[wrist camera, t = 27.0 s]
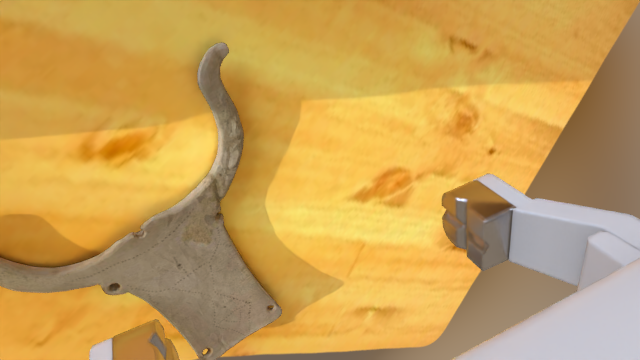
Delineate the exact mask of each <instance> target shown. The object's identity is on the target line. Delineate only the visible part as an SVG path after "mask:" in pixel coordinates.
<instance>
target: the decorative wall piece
mask: <svg viewBox="0 0 640 360" xmlns="http://www.w3.org/2000/svg"><path fill="white" fill-rule="evenodd" d="M228 53H229V49H228V47H227V44H225V43H222V42H221V43H217V44H215V45H213V46H212V47H210V48H209V49H208V51H207V52H206V53H205V55H204V57H203V59H202V61H201V63H200V65H199V69H198V73H197V75H198V85H199V88H200V90H201V91H202V93H203V95H204V97H205V99H206V101H207V102H208V104H209V106H210V108H211V110H212V113H213V115H214V118H215V122H216V125H217V128H218V152H217V156H216V159H215V161H214V163H213V166H212V168H211V170H210V172H209V173H208V174H207V176H206V177H205V178H204V179H203V180H202V181H201V182H200V183H199V184H198V186H197V187H196V188H195V189H194V190H193V191H192V192H191V193H189V194H188V195H187V196H186V197H185V198H184V199H183V200H181V201H180V202H178V203H177V204H176V205H174V206H173V207H171V208H169V209H168V210H165V211H163V212H161V213H159V214H157V215H154V216H153V217H151V218H150V219H148V220H147V221H145V222H144V223H143V224H142V225H141V228H140V229H142V230H141V231H139V232H136V233H134V232H131V233H129V234H128V235H126V236H125V237H124V238H122V239H120V240H118V241H117V242H115V243H114V244H113V245H112V246H111V247H110V248H108V249H107V250H105V251H104V252H103V253H101V254H99V255H97V256H95V257H93V258H90V259H88V260H85V261H82V262H80V263H76V264H72V265H68V266H63V267H55V268H48V267H34V266H28V265H23V264H19V263H16V262H12V261H9V260H6V259H3V258H1V257H0V286H2V287H4V288H7V289H10V290H13V291H21V292H36V293H50V292H60V291H68V290H74V289H79V288H84V287H90V286H94V285H97V284H99V285H101V287H102V289H103V291H104V292H105V293H106V294H109V295H119V294H124V293H127V292H129V293H131V294H133V295H135V296H137V297H139V298H141V299H143V300H144V301H146V302H147V303H149V304H150V305H151V306H152V307H154V308H155V309H156V310H158V311H159V312H160V313H161V314H162V315H163V316H164V317H165V318H166V319H167V320H168V321H169V322H170V323H171V324H172V325H173V326H174V327H175V328H176V329H177V330H178V331H179V332H180V333H181V334H182V335H183V337H184V338H185V339H186V340H187V342H188V343H189V344H190V346H191V347H192V348H193V350H194V351H195V352H196V354H197V356H198V357H199V359H200V360H216V359H217V358H219V357H220V356H221V355H222V354H224V353H225V352H226V351H227V350H229V349H230V348H231V347H233V346H234V345H236V344H237V343H239V342H240V341H241V340H243V339H244V338H246V337H247V336H249V335H250V334H252V333H254V332H256V331H257V330H259V329H261V328H263V327H264V326H266V325H268V324H270V323H272V322H273V321H274V320H276V319H277V318H279V317H280V316H281V314H282V309H281V307H280V306H279V305H278V304H277V303H276V302H275V301H274V300H273V299H272V298H271V296H270V295H269V294H268V293H267V292H266V291H265V290H264V289H263V288H262V286H261V285H260V284H259V283H258V281H257V280H256V279H255V277H254V276H253V274H252V273H251V272H250V270H249V269H248V268H247V266H246V264H245V263H244V261H243V259H242V258H241V256H240V254H239V253H238V251H237V249H236V248H235V246H234V244H233V242H232V241H231V239H230V237H229V235H228V233H227V231H226V229H225V227H224V221H223V215H222V214H217V213H218V212H220V210H221V207H220V201H221V199H222V198H223V197H224V196H225V194H226V192H227V191H228V189H229V187H230V185H231V183H232V181H233V178H234V176H235V173H236V171H237V168H238V165H239V162H240V159H241V154H242V149H243V138H244V133H243V128H242V125H241V122H240V118H239V115H238V112H237V109H236V107H235V105H234V103H233V102H232V100H231V98H230V96H229V95H228V93H227V91H226V89H225V87H224V85H223V83H222V81H221V78H220V66H221V63H222V61H223V59H224V58H225V57H226V55H227V54H228ZM113 283H114V284H113ZM269 305H273V306H274V307H273V308H269V307H268V306H269ZM206 348H207V349H208V351H207V353H206V354H205V355H203V353H202V352H203V350H204V349H206Z"/></svg>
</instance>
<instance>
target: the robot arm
mask: <svg viewBox="0 0 640 360" xmlns="http://www.w3.org/2000/svg"><path fill="white" fill-rule="evenodd" d="M442 206H443V207H444V208H446V209H447V210H446V211H445V213H444V215H443V217H442V220H443V228H444V230H445V233H446V235H447V237H448V238H449V239H450V241H451V242H452V243H453V244H454V245H455V246H456V247H459V248H463V249H466V251H467V257H468V258H469V259H470V260H471V261H472V262H473V263H475V264H476V265H477V266H478V267H479V268H480V269H481V270H482V271H485V270H487V269H489V268H491V267H493V266H495V265H497V264H500V263H502V262H504V261H506V260H508V259H509V261H510V262H513V263H516V264H518V265H521V266H524V267H527V268H529V269H532V270H535V271H537V272H540V273H543V274H546V275H548V276H551V277H554V278H556V279H559V280H562V281H565V282H567V283H570V284H573V285H575V286H577V291H576V292H575V293H573V294H571V295H570V296H568V297H566V298H564V299H562V300H560V301H559V302H557V303H555V304H553V305H551V306H549V307H547V308H546V309H544V310H542V311H540V312H538V313H536V314H535V315H533V316H531V317H529V318H527V319H525V320H523V321H521V322H520V323H518V324H516V325H514V326H512V327H510V328H508V329H507V330H505V331H503V332H501V333H500V334H498V335H496V336H494V337H492V338H490V339H488V340H486V341H485V342H483V343H481V344H479V345H477V346H475V347H474V348H472V349H470V350H468V351H466V352H464V353H462V354H460V355H459V356H457V357H455V358H453V359H451V360H640V219H638V218H636V217H634V216H632V215H630V214H624V213H619V212H614V211H608V210H602V209H596V208H591V207H585V206H579V205H574V204H568V203H562V202H556V201H551V200H544V199H539V198H536V199H534V200H532V199H530V198H529V197H527V196H526V195H524V194H523V193H521V192H520V191H518V190H516V189H515V188H513V187H512V186H510V185H509V184H507V183H506V182H504V181H502V180H501V179H499V178H498V177H496V176H495V175H493V174H486V175H484V176H481V177H479V178H477V179H475V180H473V181H471V182H468V183H466V184H464V185H462V186H459V187H457V188H455V189H453V190H451V191H448V192H446V193H444V194H443V196H442ZM89 360H180V359H179V356H178V353H177V351H176V349H175V346H174V345H173V343H172V341H171V340H170V339H166V338H165V334H164V328H163V327H162V325H161V324H160V322H159V321H158V320H156V319H155V320H153V321H150V322H148V323H145V324H143V325H140V326H138V327H136V328H133V329H131V330H128V331H126V332H123V333H121V334H119V335H116V336H114V337H113V338H110V339H108V340H105V341H103V342H100V343H98V344H95V345H93V346H92V348H91V350H90V354H89Z"/></svg>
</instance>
